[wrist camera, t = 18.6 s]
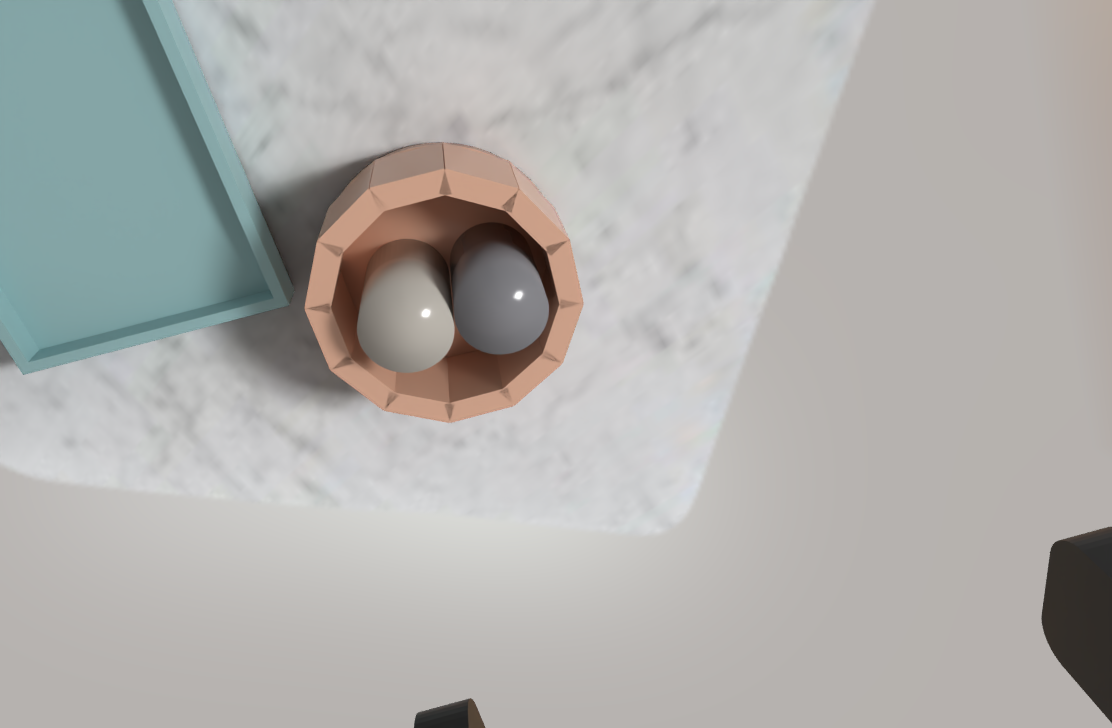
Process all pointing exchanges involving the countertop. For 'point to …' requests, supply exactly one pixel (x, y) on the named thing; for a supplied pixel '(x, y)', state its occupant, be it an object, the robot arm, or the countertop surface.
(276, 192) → the countertop surface
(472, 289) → the grey rounded cylinder
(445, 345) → the beige rounded cylinder
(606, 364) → the countertop surface
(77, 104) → the tray
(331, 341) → the bowl
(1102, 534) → the robot arm
